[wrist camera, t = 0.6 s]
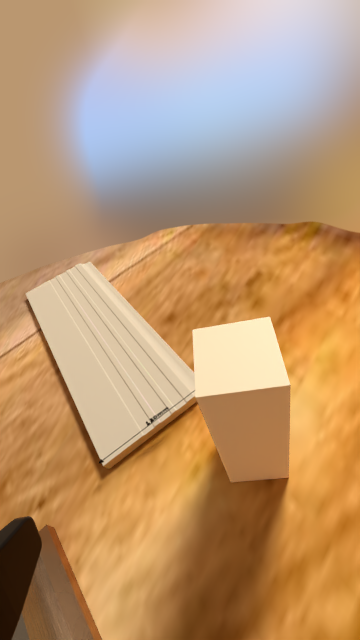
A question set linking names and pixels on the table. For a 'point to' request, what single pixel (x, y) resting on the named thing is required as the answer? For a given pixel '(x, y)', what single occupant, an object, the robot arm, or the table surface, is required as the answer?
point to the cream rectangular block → (244, 397)
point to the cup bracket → (54, 599)
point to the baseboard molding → (111, 361)
